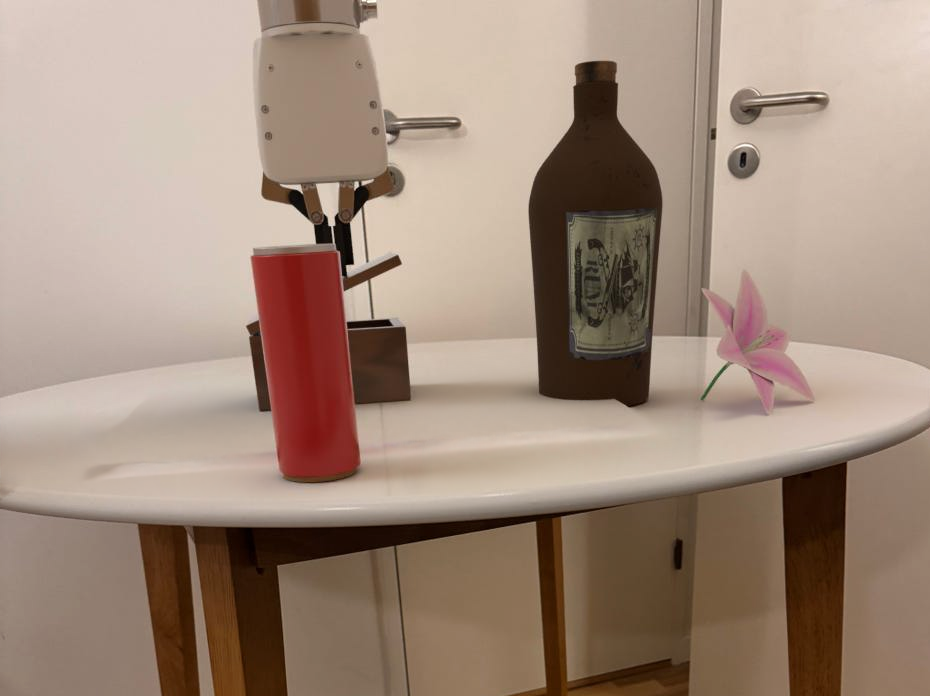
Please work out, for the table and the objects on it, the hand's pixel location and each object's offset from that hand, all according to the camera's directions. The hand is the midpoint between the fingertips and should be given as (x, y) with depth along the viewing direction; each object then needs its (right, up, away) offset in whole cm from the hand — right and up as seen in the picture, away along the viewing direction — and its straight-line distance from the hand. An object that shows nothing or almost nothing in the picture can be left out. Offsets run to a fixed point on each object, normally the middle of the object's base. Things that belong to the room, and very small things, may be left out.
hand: (337, 275), depth 79 cm
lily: (+34, -12, -3) cm, 36 cm away
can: (+2, -19, -18) cm, 26 cm away
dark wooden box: (-1, -10, +4) cm, 11 cm away
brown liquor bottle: (+22, -10, +2) cm, 24 cm away
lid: (-1, -2, 0) cm, 2 cm away
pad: (+2, -20, -17) cm, 26 cm away
